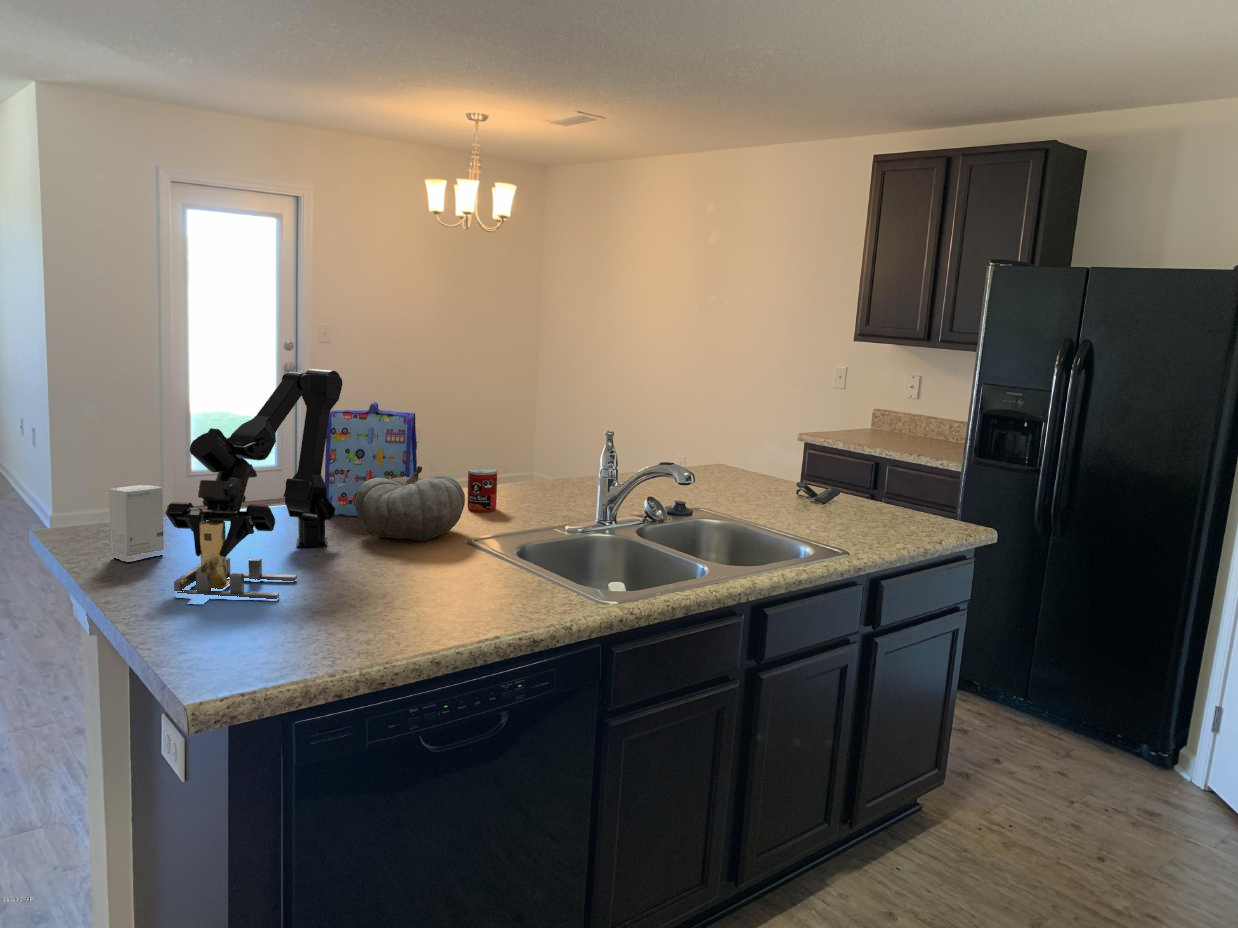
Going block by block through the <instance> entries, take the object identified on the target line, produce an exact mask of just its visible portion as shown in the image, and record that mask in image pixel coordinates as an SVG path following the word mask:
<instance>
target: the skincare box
mask: <svg viewBox="0 0 1238 928" xmlns="http://www.w3.org/2000/svg"><path fill="white" fill-rule="evenodd" d="M108 495H109V497H108V498H109V514H110V515H109V518H110V519H109V520H110V521H109V522H110V545H111V552H112V551H113V552H116V553H119V554H121V555H124V556H132V555H137V554H141V553H148V552H153V551H161V550H164V551H165V548H164V547H165V546H164V545H165V543H164V540H165V539H164V519H163V518H164V514H163V512H164V510H163V507H164V506H163V487H162V486H157V485H151V484H139V485H129V486H122V487H121V486H120V487H114V488H109V489H108Z"/></svg>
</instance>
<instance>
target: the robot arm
mask: <svg viewBox="0 0 1238 928" xmlns="http://www.w3.org/2000/svg"><path fill="white" fill-rule="evenodd" d="M342 389H343V379H342V377H341V376H340V374H339V373H338V371H336V370H329V369H327V370H326V369H318V368H317V369H316V368H309V369H307V370H306V371H305V372H297V371H288V372H285V373H284V374H283V375H282V377H281V381H280V383H279V384H278V385H277V387H275V389H274V391H273V392H272V393H271V395H270V396H269V398H268V399H266V402H265V403H264V404H263V406H262V407H261V408H260V410H258V412H257V413H256V415H254V417H252V419H250V420H247V421H245V422H243V423H242V424H240V426H238V427H237V429H235V430H234V431H233V432H232V433H231V435H230V436H229V437H226V436H225V435H224V433H223V432H222V431H221V429H220V428H211V427H210V428H209V429H208V431H207V432H204V433H202V434H201V435H199V436H198V437H196V438H195V439H193V440H192V441H191V443H190V445H189V452H190V454H191V455H192V456H193V457H194V458H195V459H196V460H197V461H198V462H199V463H200V464H202V465H203V467H205V468H206V469H207V470H208V471H209V472H211V473H217V474H216V478H215V480H213V479H206V480H205V479H202V480H199V486H198V492H197V493H198V495H197V497H198V498H199V499H200V498H201V499H202V504H203V506H204V507H207V508H206V509H202V508H200V507H194V504H192V502H186V501H185V502H184V501H183V502H182V501H172V502H171V503H169V504H167V507H166V510H165V512H164V513H165V515H166V516H167V518H168V520H169V521H170V522H171V523H170V524H172V525H173V527H174V528H177V529H185V530H190V531H191V532H192V533H193V540H194V542H193V543H194V552H195V556H196V557H201V556H200V530H199V523H201V522H204V521H210V520H220V521H224V522H230V523H229V529H228V532H227V535H226V541H225V544H224V547H223V551H222V556H223V557H226V558H227V556H228V555H229V554H230V553H231V552H232V551H233V550H234V549H235V548H236V546H237V545H239V544H240V543H241V541H242V540H244V539H245V538H247V537H248V536H249V535H253V534H254V533H255V530H257V532H272V531H274V529H275V524H276V518H275V516H274V514H273V511H272V510H271V507H270V506H269V505H268V504H248V505H247V506H246V510H243V511H242V510H241V509H242V504H243V503H246V500H247V499H246V498H247V497H246V496H245V493H246V489H247V485H248V482H249V479H251V478H257V477H258V475H257V471H256V470H255V468H254V467H253V464H251V463H249V462H248V461H247V460H251V461H265V460H266V459H267V458H268V457H269V456H270V454H271V452H272V451H273V448H274V446H275V444H276V442H277V437H276V435H277V431H278V429H279V427H280V426H281V425H282V424H283V422H284V421H285V420H286V418H287V416H288V415H289V414H290V413H291V411H292V409H293V408H294V407H295V406H296V404H297V403H298V401H299V400H300V399H301V398H302V399H303V402H304V405H305V407H306V410H305V417H304V422H303V423H304V424H303V431H302V439H301V445H300V453H299V459H298V466H297V467H298V468H297V472H296V473H295V474H294V476H293V477H292V478H287V479H286V481H285V489H284V493H283V495H282V496H283V497H284V504H285V506H286V509H287V512H288V516H289V517H290V518H297V520H298V523H297V525H298V527H297V528H298V538H297V539H296V546H298V547H297V548H318V547H317V546H325V547H328V537H327V536H326V521H330V520H331V519H333V518H334V517H335V515H334V513H335V507H334V506H333V505H332V504H331V503H330V501H329V500H328V499H327V498H326V485H325V479H324V478H323V476H322V469H323V463H324V456H325V451H326V435H327V428H328V421H329V414H330V411H332V410H333V408H334V407H335V405H336V404H337V403H338V401H340V396H341V393H342ZM254 528H255V529H254ZM304 546H306V547H304ZM312 546H313V547H312ZM314 546H316V547H314Z"/></svg>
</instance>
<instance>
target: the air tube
mask: <svg viewBox="0 0 1238 928" xmlns="http://www.w3.org/2000/svg"><path fill="white" fill-rule="evenodd" d="M199 530H200V556H199V557H200V564H201V572H204V573H210V580H211V588H215V589H216V588H217V589H223V588H224V587H226V586H227V585H228V584H230V579H227V563H226V558H227V556H226V557H223V556H222V551H223V547H224V544H225V541H226V538H227V535H226V521H220V520H210V521H208V520H206V521H204V522H201V523H199Z"/></svg>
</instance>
